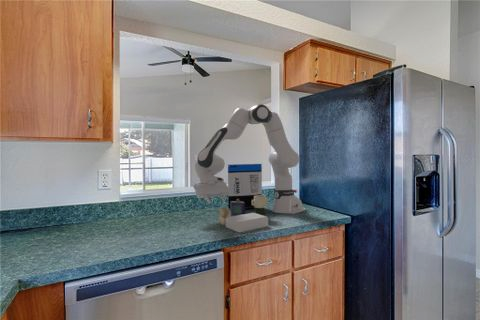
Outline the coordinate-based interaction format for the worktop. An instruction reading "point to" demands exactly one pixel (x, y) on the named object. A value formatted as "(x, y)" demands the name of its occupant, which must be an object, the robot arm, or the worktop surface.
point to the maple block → (223, 215)
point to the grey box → (246, 222)
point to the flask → (237, 208)
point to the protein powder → (244, 183)
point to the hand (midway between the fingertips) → (217, 201)
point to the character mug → (260, 204)
